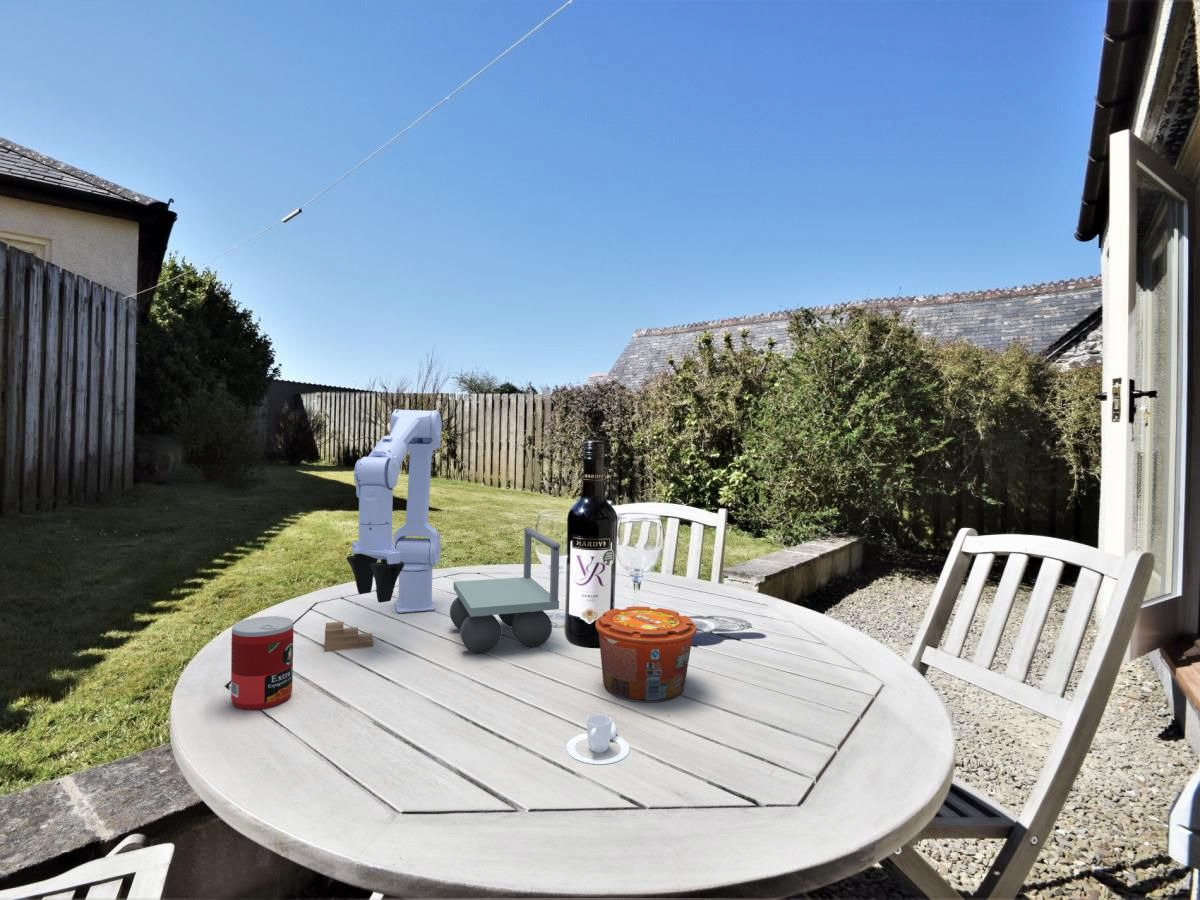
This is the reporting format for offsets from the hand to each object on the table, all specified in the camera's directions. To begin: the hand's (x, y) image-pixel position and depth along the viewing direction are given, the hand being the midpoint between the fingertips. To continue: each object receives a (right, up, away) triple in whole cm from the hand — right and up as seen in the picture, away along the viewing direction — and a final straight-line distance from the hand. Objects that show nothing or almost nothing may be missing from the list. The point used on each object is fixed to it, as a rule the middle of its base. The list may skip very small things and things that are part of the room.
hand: (374, 597), depth 112 cm
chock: (-5, -9, +1) cm, 10 cm away
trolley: (+21, -9, +6) cm, 24 cm away
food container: (+48, -11, -15) cm, 51 cm away
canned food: (-8, -10, -23) cm, 26 cm away
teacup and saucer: (+44, -12, -34) cm, 56 cm away
